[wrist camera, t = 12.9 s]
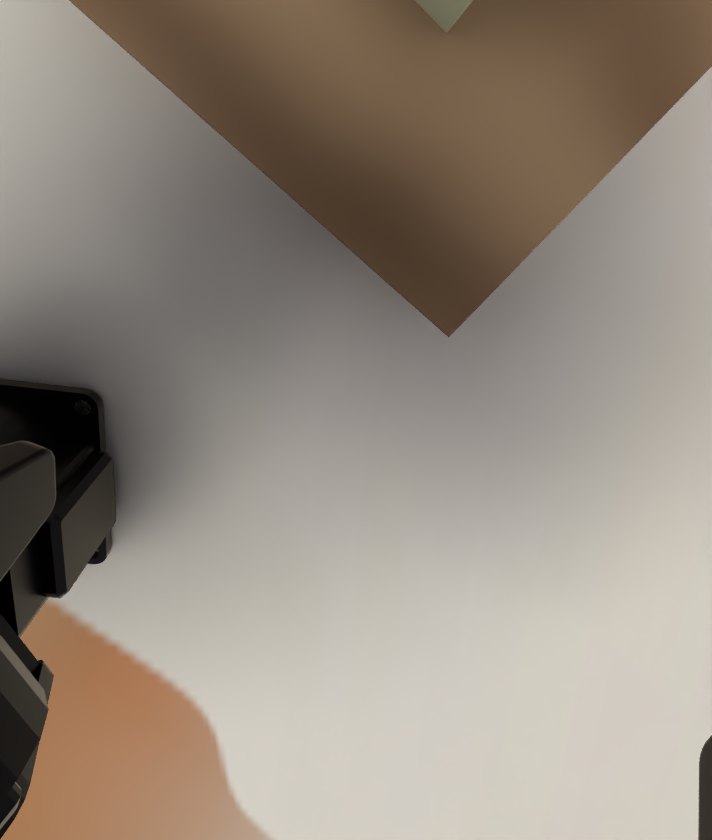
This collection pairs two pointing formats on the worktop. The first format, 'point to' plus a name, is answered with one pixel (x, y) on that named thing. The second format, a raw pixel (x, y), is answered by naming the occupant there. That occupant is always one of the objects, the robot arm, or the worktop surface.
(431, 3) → the block
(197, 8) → the base
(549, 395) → the worktop surface
